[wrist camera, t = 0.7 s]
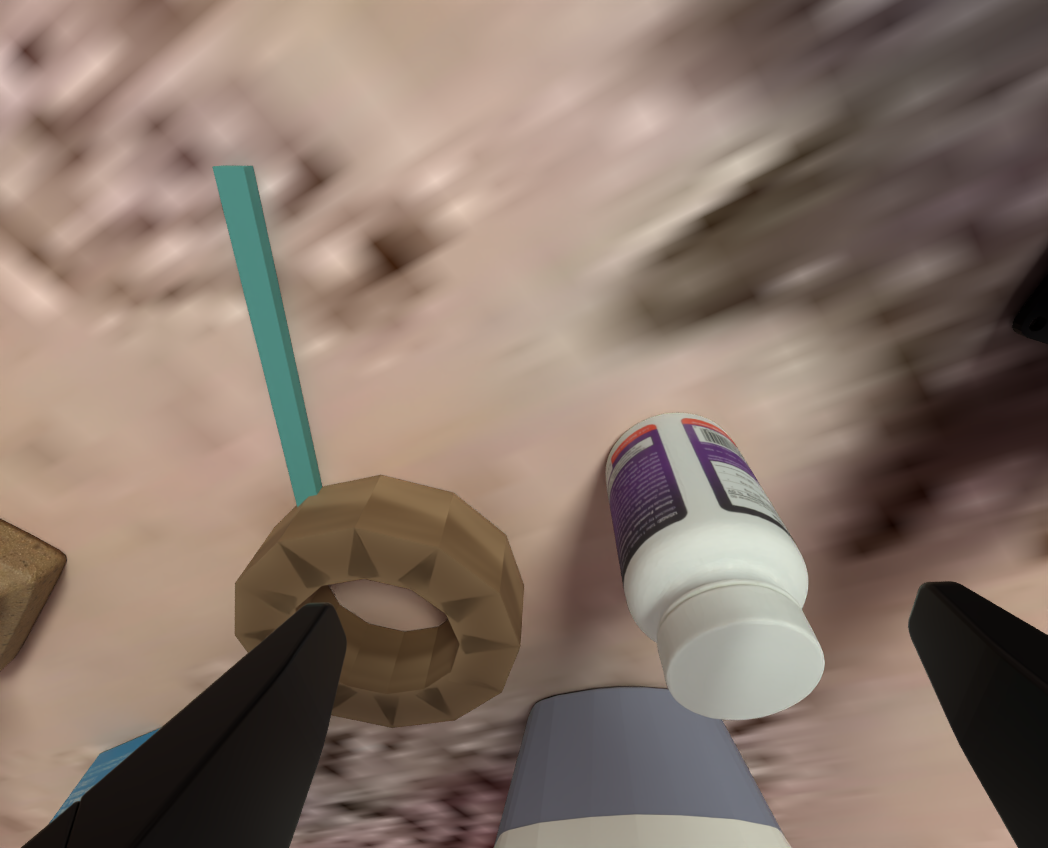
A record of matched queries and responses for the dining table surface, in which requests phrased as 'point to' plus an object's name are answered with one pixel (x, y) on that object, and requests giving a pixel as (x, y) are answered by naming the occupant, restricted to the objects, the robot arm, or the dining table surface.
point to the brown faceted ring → (405, 561)
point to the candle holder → (23, 585)
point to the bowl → (631, 778)
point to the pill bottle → (710, 570)
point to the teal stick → (269, 323)
